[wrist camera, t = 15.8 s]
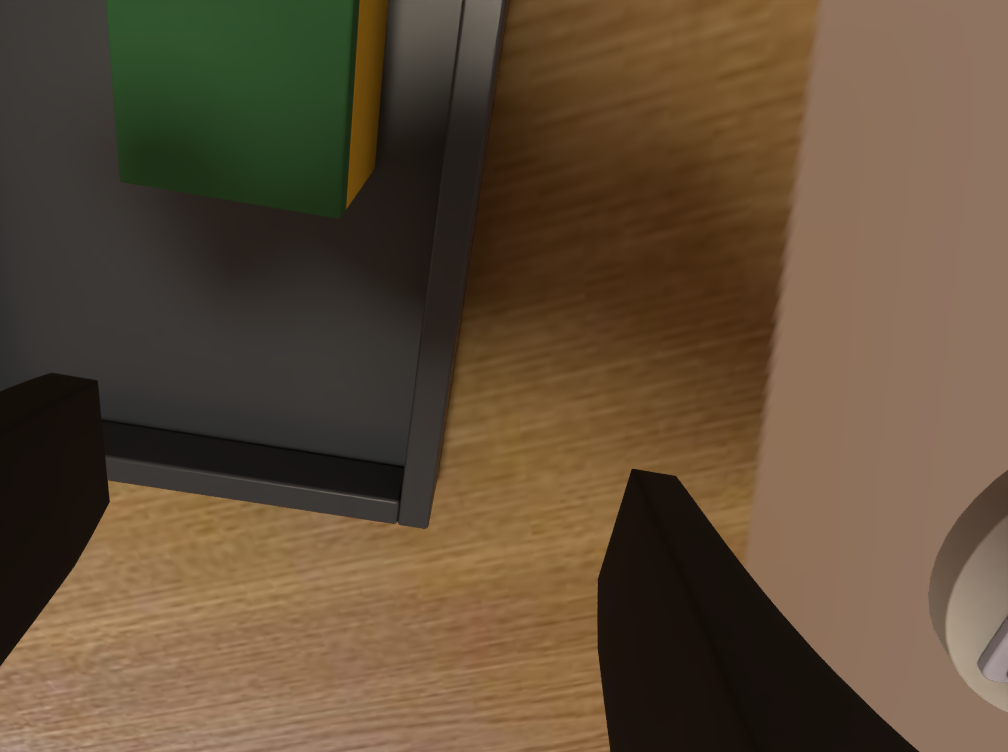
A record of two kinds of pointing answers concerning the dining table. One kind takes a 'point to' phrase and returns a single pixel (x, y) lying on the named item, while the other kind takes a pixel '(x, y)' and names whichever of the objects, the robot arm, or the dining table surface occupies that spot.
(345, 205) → the sponge
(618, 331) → the dining table surface
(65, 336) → the tray
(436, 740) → the dining table surface
